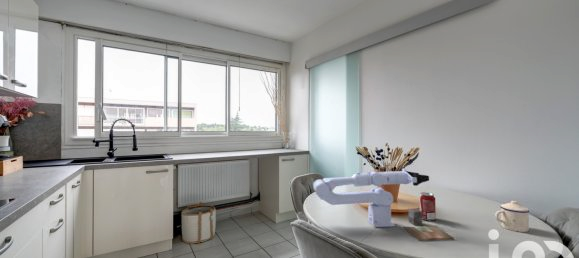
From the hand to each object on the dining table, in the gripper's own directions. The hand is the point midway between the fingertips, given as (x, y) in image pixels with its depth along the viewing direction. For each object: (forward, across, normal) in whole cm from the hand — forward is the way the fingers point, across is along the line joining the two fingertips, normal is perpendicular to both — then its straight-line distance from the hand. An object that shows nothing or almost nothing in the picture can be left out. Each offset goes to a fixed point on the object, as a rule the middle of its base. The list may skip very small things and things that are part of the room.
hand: (423, 176), depth 109 cm
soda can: (+4, +5, +21) cm, 22 cm away
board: (-6, -11, +21) cm, 25 cm away
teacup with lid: (+33, -7, +22) cm, 41 cm away
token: (-5, 0, +21) cm, 22 cm away
